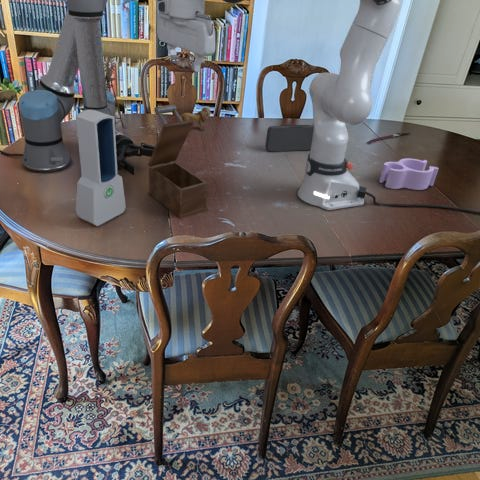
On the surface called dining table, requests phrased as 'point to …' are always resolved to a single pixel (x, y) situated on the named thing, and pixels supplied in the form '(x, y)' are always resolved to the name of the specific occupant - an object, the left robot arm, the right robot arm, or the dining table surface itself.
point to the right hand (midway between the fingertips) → (184, 66)
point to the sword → (386, 137)
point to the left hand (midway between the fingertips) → (151, 166)
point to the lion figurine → (197, 116)
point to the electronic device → (98, 169)
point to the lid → (169, 137)
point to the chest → (177, 188)
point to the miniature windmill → (108, 78)
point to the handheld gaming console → (289, 137)
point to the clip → (408, 174)
